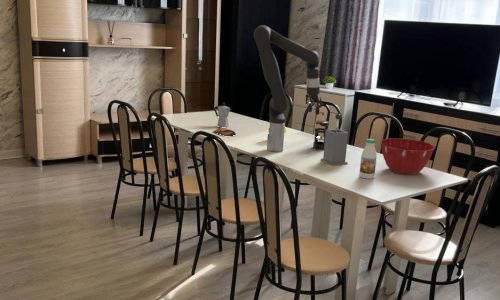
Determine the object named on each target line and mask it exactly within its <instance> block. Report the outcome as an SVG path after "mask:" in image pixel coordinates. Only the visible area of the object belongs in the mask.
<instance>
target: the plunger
mask: <svg viewBox="0 0 500 300" xmlns="http://www.w3.org/2000/svg"><path fill="white" fill-rule="evenodd" d="M335 119H336V125H335V126H336V127H335V130H336V133H338V129H339V123H340V119H342V114H340V113H336V114H335Z"/></svg>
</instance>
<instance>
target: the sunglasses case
mask: <svg viewBox="0 0 500 300" xmlns="http://www.w3.org/2000/svg"><path fill="white" fill-rule="evenodd" d="M213 132H215V133H214V134H216V133H218V134H217V135H219V134H221V135H220V136H222V135H224V136H231V137H234V136H233V135H237V133H236V132H235V131H234V130H232V129H228V128H222V127H220V128H218V127H217V128H216V129H214V130H213V131H212V133H213ZM224 136H223V137H224Z"/></svg>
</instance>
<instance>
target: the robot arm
mask: <svg viewBox="0 0 500 300" xmlns="http://www.w3.org/2000/svg"><path fill="white" fill-rule="evenodd" d="M253 39H254V40H255V44H256V46H257V48H258V51H259V52H258V53H259V58H260V61H261V62H260V63H261V67H262V72H263V76H264V79H265V81H266V82H267V85H268V87H269V89H270V92H271V95H272V97H271V98H270V100H269V111H268V116H269V128H268V129H269V130H268V134H267V138H266V139H267V140H266V150H268V151H269V152H277V153H279V152H283V151H284V141H285V129H286V116H285V113H284V112H285V111H286V110H288V109H287V108H288V105H289V102H288V99H287V96H286V93H285V90H284V87H283V82H282V77H281V73H280V67H279V63H278V61H277V57H276V56H275V54H274V52H273V49H272V45H271V44H273V45H275V46H277V47H279V48H280V49H282V50H283V51H285V52H286V53H288V54H290V55H293V56H295V57H296V58H299V59H301V60H303V62H306V94H305V105H306V106H307V112H308V113H311V112H313V107H312V106H314V107H315V110H314V111H315V115H320V108H322V104H323V103H322V97H321V96H320V97H319V94H320V93H321V89H320V87H321V85H320V71H319V65H320V64H319V63H320V60H319V59H320V57H319V56H320V55H319V53H318V52H317V51H316V50H311V49H309V48H307V47H305V46H303V45H302V44H301V43H299V42H295V41H294V40H291V39H290V38H287V37H285V36H284V35H281V34H280V33H278V32H276V31H275V30H274V29H272V28H270V27H269V26H267V25H265V24H261V25H259V26H258V27H256V28H255V29H254V32H253Z"/></svg>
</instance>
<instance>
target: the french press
mask: <svg viewBox="0 0 500 300" xmlns="http://www.w3.org/2000/svg"><path fill="white" fill-rule="evenodd" d="M319 114H321V115H322V116H324V115H325V114H327V112H326V111H325V112H324V111H319ZM314 122H315V125H319V126H321V127H315V128H314V141H313V143H312V145H313V146H312V148H313V149H314V148H315V150H319V149H322V150H321V151H324V144H325V133H326V130H331V129H330V128H323V127H329V125H330V121H327V120H324V117H322V119H321V120H315V121H314ZM319 133H320V136H319ZM322 134H324V136H323V135H322Z"/></svg>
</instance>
